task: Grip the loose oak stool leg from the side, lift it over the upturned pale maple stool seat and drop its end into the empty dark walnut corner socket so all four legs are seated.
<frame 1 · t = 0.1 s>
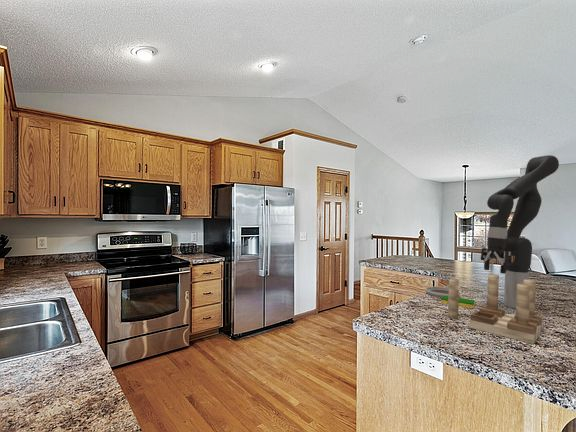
hand: (494, 271, 148), 17 cm above the table, tool pointing down, fingers open, 8 cm apart
dish sponge: (457, 304, 155), on the table
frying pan: (443, 293, 177), on the table
stool leg: (452, 317, 134), on the table
stool seat: (505, 328, 123), on the table
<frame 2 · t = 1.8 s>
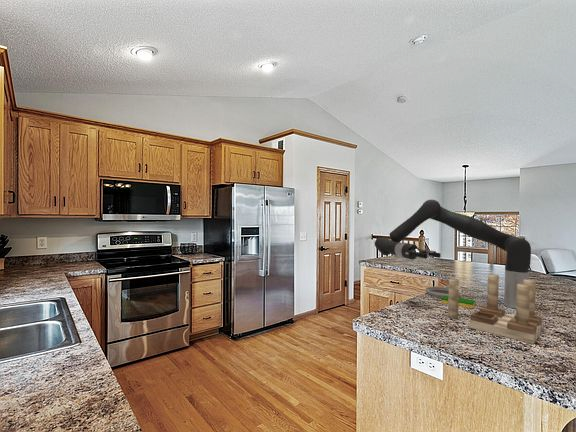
hand: (433, 256, 144), 25 cm above the table, tool horizontal, fingers open, 8 cm apart
nothing on the table moved.
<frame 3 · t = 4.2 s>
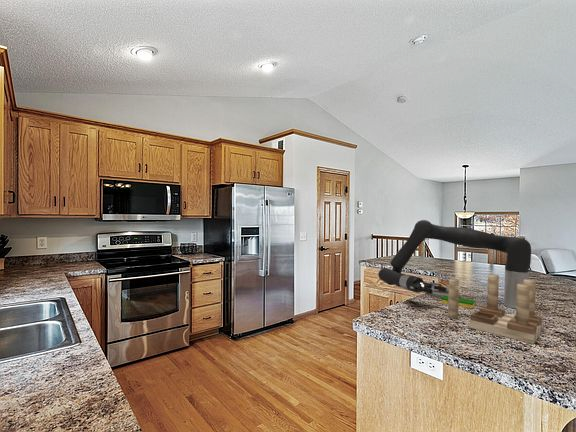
hand: (439, 290, 141), 9 cm above the table, tool horizontal, fingers open, 8 cm apart
nothing on the table moved.
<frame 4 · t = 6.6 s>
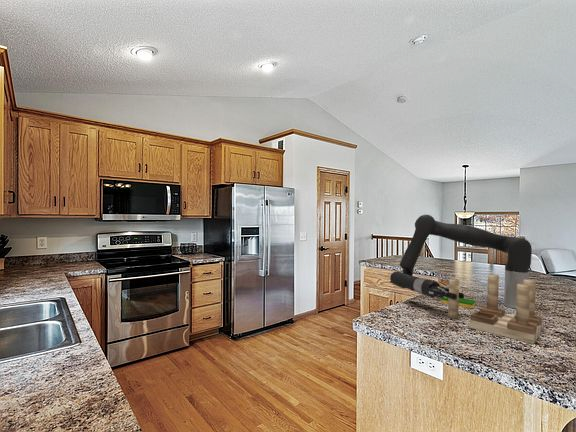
hand: (459, 296, 132), 10 cm above the table, tool horizontal, fingers closed on stool leg, 3 cm apart
stool leg: (453, 317, 134), on the table, touching gripper
everything else where it was.
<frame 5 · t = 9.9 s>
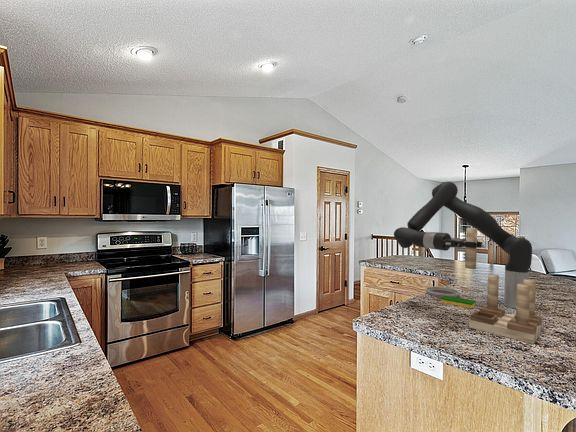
hand: (478, 245, 125), 32 cm above the table, tool horizontal, fingers closed on stool leg, 3 cm apart
stool leg: (470, 268, 127), point 22 cm above the table, touching gripper
everything else where it was.
when the fingers open (13 cm above the table, at t = 13.4 s): stool leg stays where it is, resting on stool seat.
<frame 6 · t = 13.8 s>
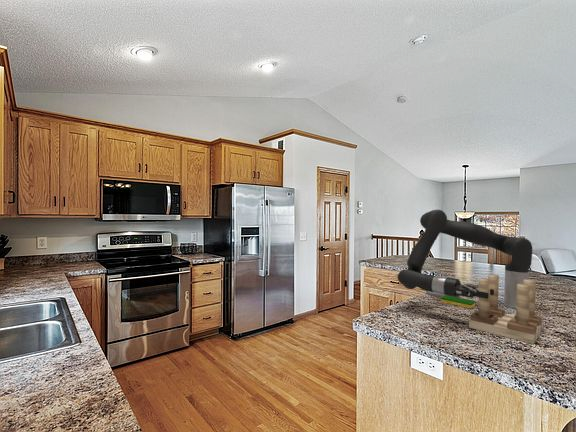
hand: (491, 294, 121), 14 cm above the table, tool horizontal, fingers open, 7 cm apart
stool leg: (483, 320, 123), point 3 cm above the table, touching stool seat
everything else where it was.
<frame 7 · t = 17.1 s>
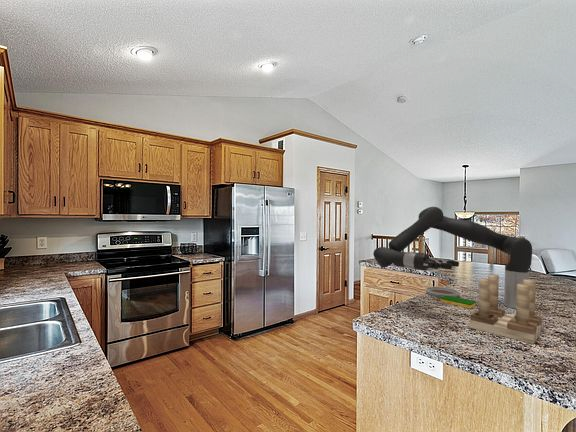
hand: (455, 265, 130), 23 cm above the table, tool horizontal, fingers open, 8 cm apart
nothing on the table moved.
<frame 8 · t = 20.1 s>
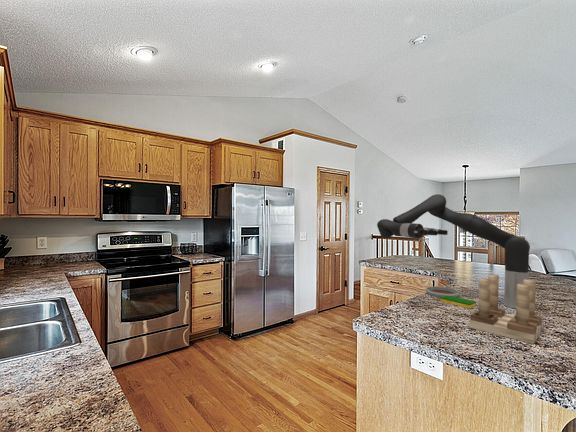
hand: (442, 232, 148), 35 cm above the table, tool horizontal, fingers open, 8 cm apart
at the end: stool leg 0.1 cm from the target spot on the stool seat, point 3.0 cm above the stool seat's base; stool leg tilted 0°; the gripper is holding nothing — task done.
